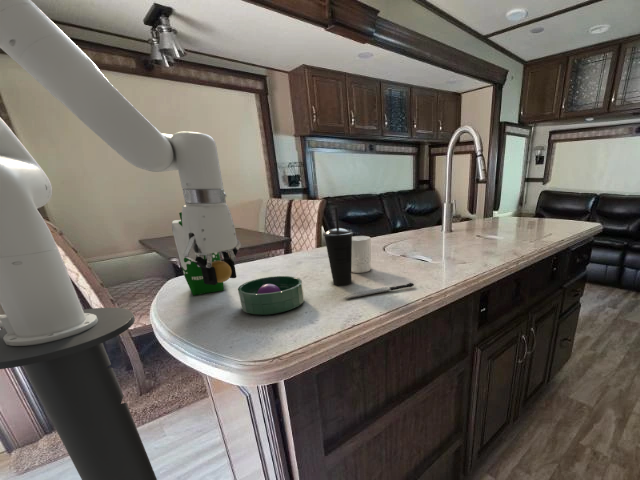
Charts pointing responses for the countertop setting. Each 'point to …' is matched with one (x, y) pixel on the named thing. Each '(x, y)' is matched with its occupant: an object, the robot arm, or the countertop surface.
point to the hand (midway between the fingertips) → (220, 280)
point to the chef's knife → (379, 290)
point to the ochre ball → (222, 270)
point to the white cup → (361, 254)
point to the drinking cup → (339, 253)
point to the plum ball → (268, 289)
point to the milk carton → (193, 264)
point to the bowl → (271, 295)
